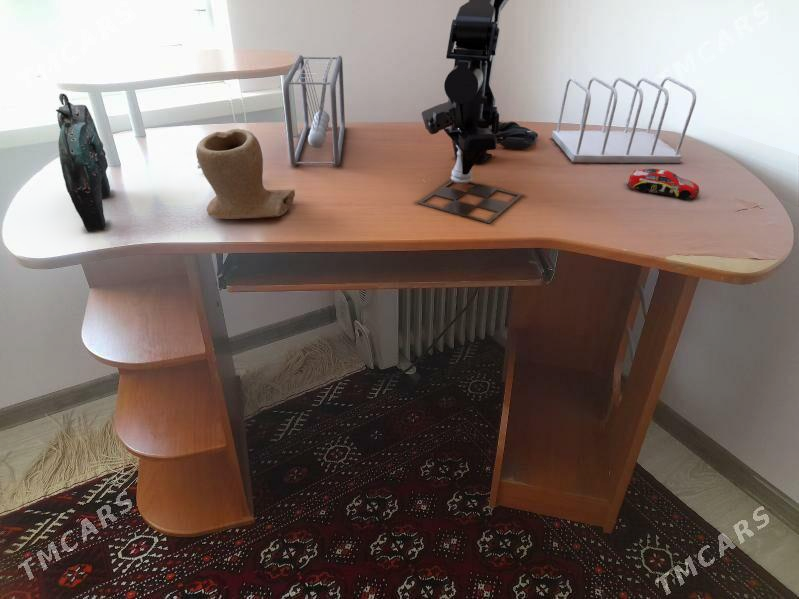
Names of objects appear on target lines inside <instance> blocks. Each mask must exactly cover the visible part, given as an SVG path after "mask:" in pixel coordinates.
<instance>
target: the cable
mask: <svg viewBox="0 0 799 599" xmlns="http://www.w3.org/2000/svg"><path fill="white" fill-rule="evenodd" d="M490 126H492V125H490ZM494 135H495V136H496V138H497V145H500V146H501V147H503V149H513V150H523V149H526V148H530V147H532V146H534V144H535V143H536V142H537V140H538V137H539V134H538V132H536V131H534V130H531V129H530V128H528V127H525V126H521V125H520V124H519V123H517V122H516V121H508V122H502V121H499V128H498V134H494Z"/></svg>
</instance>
